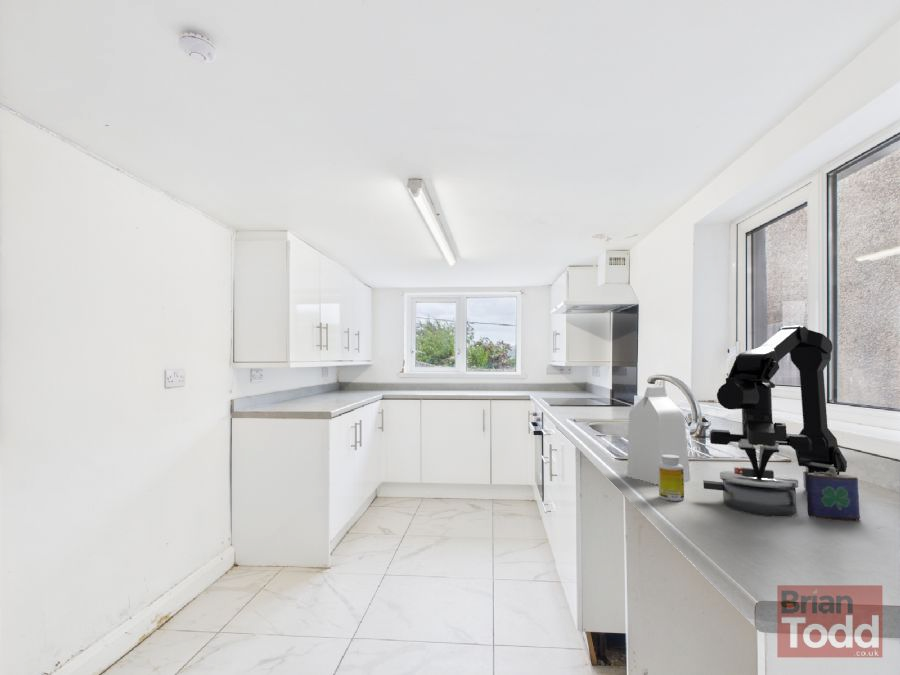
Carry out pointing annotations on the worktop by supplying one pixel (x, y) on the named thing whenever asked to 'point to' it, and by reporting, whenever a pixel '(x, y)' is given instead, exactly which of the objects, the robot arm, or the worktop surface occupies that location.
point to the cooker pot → (756, 498)
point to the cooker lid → (749, 478)
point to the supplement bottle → (671, 478)
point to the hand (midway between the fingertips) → (759, 478)
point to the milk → (655, 435)
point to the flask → (832, 495)
